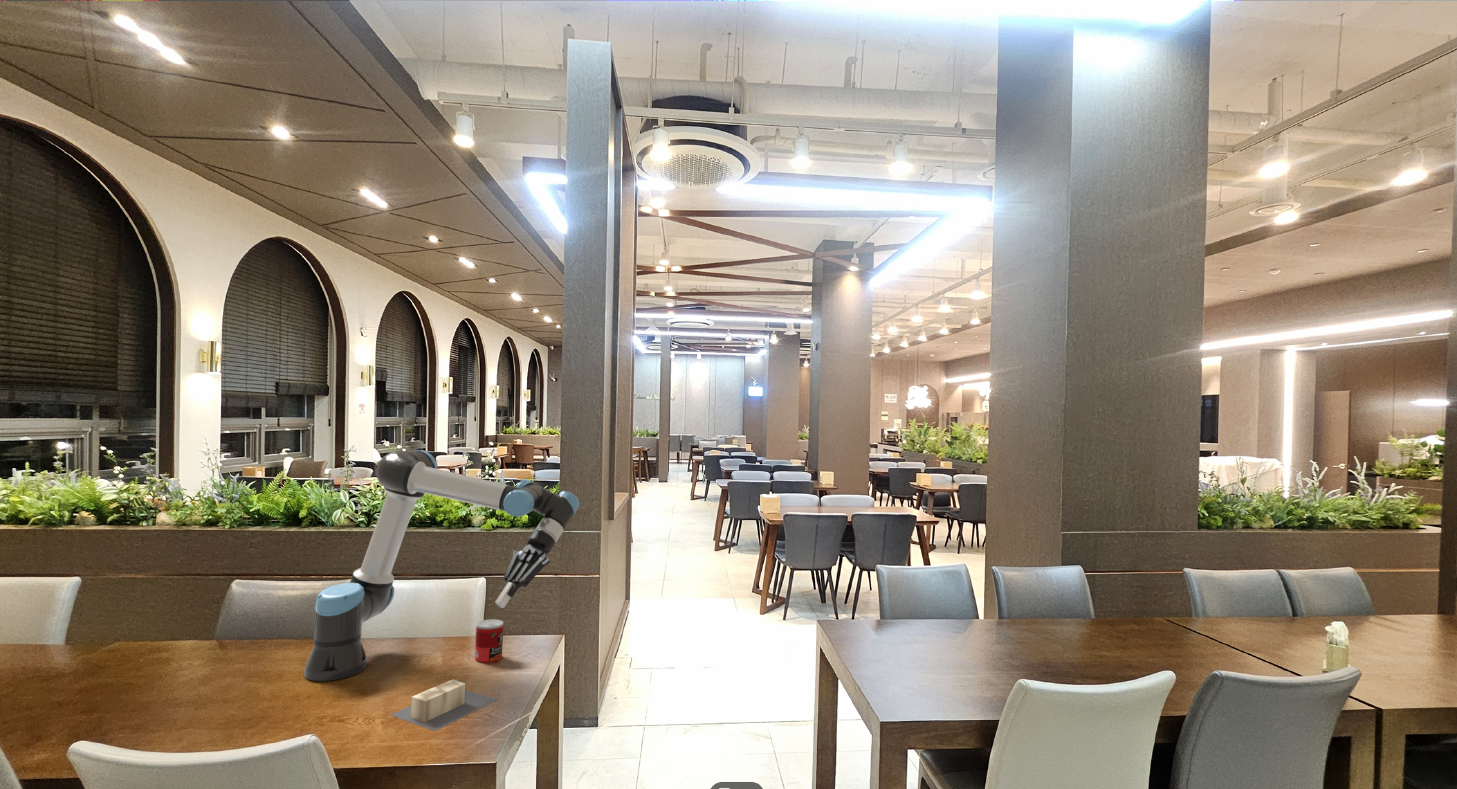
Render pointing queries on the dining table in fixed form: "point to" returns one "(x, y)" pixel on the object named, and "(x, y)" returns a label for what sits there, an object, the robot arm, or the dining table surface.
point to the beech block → (438, 700)
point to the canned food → (489, 641)
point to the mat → (449, 712)
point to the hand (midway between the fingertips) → (499, 605)
